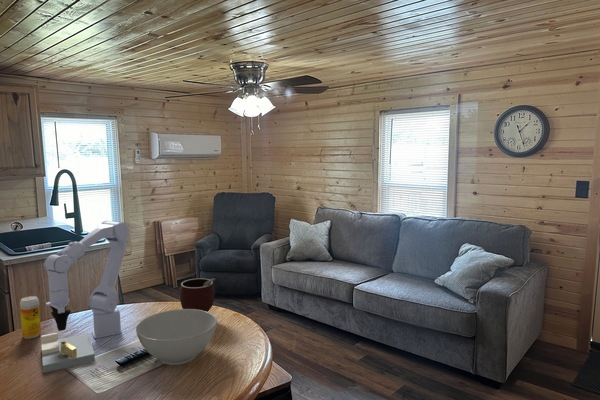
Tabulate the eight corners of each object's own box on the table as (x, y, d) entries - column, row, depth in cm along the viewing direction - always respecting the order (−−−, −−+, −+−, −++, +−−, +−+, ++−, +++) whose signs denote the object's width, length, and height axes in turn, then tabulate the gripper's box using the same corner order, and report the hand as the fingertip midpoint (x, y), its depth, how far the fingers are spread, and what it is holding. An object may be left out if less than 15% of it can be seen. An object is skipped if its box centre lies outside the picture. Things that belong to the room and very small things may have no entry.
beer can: (32, 340, 157) (29, 301, 155) (18, 338, 158) (15, 300, 156) (44, 333, 163) (42, 296, 161) (31, 331, 164) (29, 295, 162)
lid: (57, 341, 150) (57, 332, 150) (59, 351, 143) (58, 341, 143) (41, 345, 147) (40, 335, 147) (42, 354, 140) (41, 344, 140)
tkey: (77, 360, 137) (76, 347, 136) (71, 362, 135) (71, 349, 135) (66, 352, 142) (65, 340, 141) (60, 354, 140) (59, 342, 140)
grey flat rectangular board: (88, 339, 158) (88, 333, 157) (94, 360, 142) (94, 353, 142) (41, 349, 150) (41, 342, 149) (43, 373, 134) (42, 365, 134)
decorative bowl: (119, 367, 138) (117, 332, 136) (172, 334, 163) (171, 304, 161) (186, 384, 128) (185, 346, 127) (231, 346, 153) (231, 315, 151)
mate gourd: (173, 326, 170) (172, 278, 168) (193, 314, 183) (192, 270, 181) (206, 332, 165) (205, 283, 163) (224, 319, 178) (223, 273, 176)
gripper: (44, 285, 149) (46, 321, 150) (46, 297, 137) (49, 336, 139) (66, 282, 153) (68, 317, 154) (70, 293, 141) (73, 331, 142)
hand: (61, 326), depth 147 cm, fingers open, 7 cm apart
